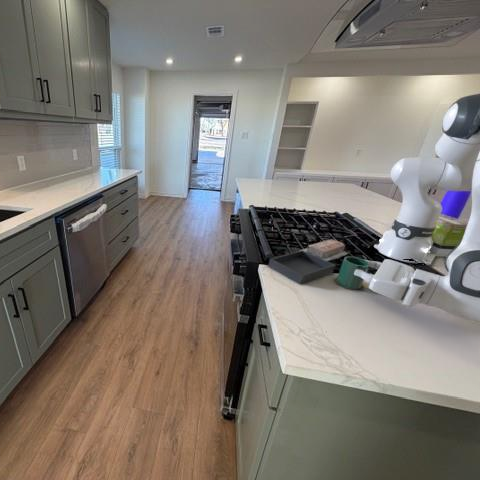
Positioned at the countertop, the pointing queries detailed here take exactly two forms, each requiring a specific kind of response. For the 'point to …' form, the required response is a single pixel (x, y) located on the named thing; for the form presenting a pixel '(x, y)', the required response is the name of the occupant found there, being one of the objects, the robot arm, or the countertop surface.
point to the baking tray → (301, 266)
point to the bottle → (454, 203)
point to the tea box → (447, 235)
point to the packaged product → (327, 250)
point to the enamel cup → (352, 272)
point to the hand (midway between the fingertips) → (358, 266)
